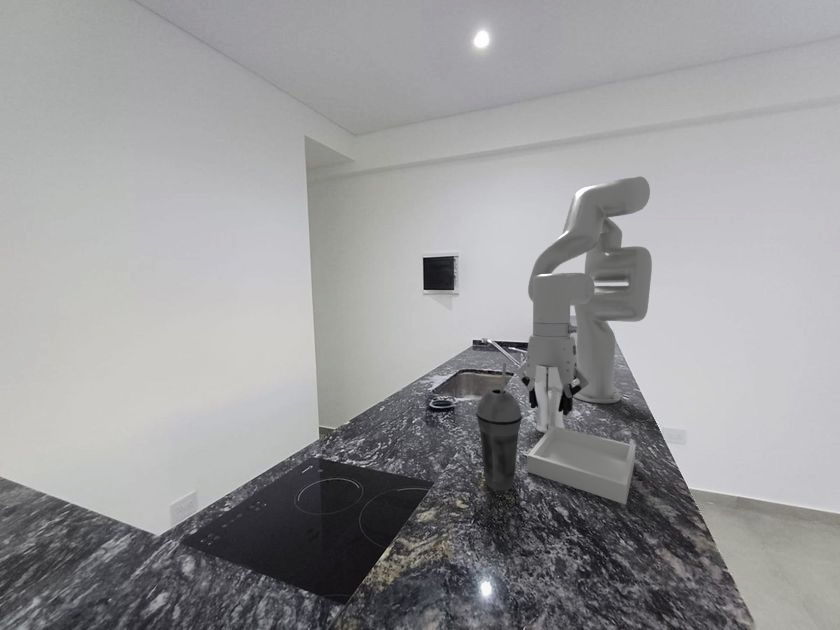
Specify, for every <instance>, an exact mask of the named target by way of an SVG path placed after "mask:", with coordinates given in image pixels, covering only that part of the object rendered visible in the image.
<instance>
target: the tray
mask: <svg viewBox="0 0 840 630" xmlns="http://www.w3.org/2000/svg"><path fill="white" fill-rule="evenodd" d="M526 457H527V458H526V462H527V463H526V464H527V466H526V472H527V473H530V474H534V475H536V476H539V477H541V478H545V479H548V480H551V481H555V482H557V483H560V484H563V485H565V486H566V485H567V486H569V487H572V488H575V489H578V490H581V491H584V492H587V493H589V494H593V495H595V496H599V497H601V498H604V499H607V500H610V501H613V502H617V503H619V504H622V505H627V501H628V498H629V497H628V495H629V494H630V493H629V491H630V488H631V487H630V486H631V482H632V477H633V472H634V467H635V463H636V444H631V443H626V442H623V441H618V440H614V439H610V438H606V437H602V436H597V435H592V434H589V433H585V432H580V431H577V430H572V429H567V428H565V427H564V428H560V427H555V426H551V427H550V429H549V430H548V431H547V432H546V433H545V434H544V435H543V436H542V437H541V438H540V439H539V441H538V442H537V443H536V444H535V446H533V447H532V449H531V450H530V452H529V453H528V454H527V455H526Z"/></svg>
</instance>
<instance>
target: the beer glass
mask: <svg viewBox="0 0 840 630" xmlns="http://www.w3.org/2000/svg"><path fill="white" fill-rule="evenodd" d="M533 383H534V393H535V399H536V404H537V407H536V409H537V413H536V414H537V417H536V422H535V430H537V431H538V432H540V433H542V434H544V435H545V433H546V432H547V431H548V430H549V429H550V427H551V426H555V427H560V428H564V429H565V425H564V419H563V418H564V417H563V416H564V414H563V397H565V392H564V384H561V381H560V377H559V373H558V367H545V366H540V365H536V371H535V376H534V380H533Z"/></svg>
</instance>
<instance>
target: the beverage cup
mask: <svg viewBox="0 0 840 630" xmlns="http://www.w3.org/2000/svg"><path fill="white" fill-rule="evenodd" d="M506 370H507V362H503V363H502V371H501V379H500V380H501V381H500V382H501V384H500V389H499V388H498V389H492V390H489V391H487V392H485V393H484V394H483V395H482V397H481V398H480V400H479V401H478V404H477V410H476V413H475V415H476V418H477V423H478V428H479V434H480V445H481V455H482V466H483V474H484V482H485V484H486V486H487V487H489V488H490V489H492V490H494V491H498V492H499V491H500V492H501V491H502V492H504V491H508V490H510V489H512V487H513V485H514V478H515V474H516V473H515V472H516V463H517V462H516V460H517V451H518V440H519V431H520V427H521V423H522V419H523V415H522V411H521V410H522V409H521V407H520V404H519V401H518V400H517V398H516V397H515V396H514V395H513V394H512V393H510V392H508V391H506V390H505V382H506Z"/></svg>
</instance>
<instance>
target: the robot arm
mask: <svg viewBox="0 0 840 630" xmlns="http://www.w3.org/2000/svg"><path fill="white" fill-rule="evenodd" d="M650 187H651V186H650V184H649V181H648V180H647V179H646V178H645V177H643V176H635V177H628V178H619V179H617V180H610V181H607V182H602V183H598V184H593V185H589V186H586V187H585V186H584V187H583V188H581V189H580V190H578V191H576V193H575V194H574V195H573V197H572V200H571V202H570V206H569V210H568V213H567V217H566V220H565V223H564V225H563V226H564V227H563V229H562V233H561V235H560V236H559V237H558V238H557V239H556V240H554V241H553V242H551V243H550V245H548V246H547V247H546V248H545V249H544V251H542V253H540V254H539V256H538V257H537V259H536V260H535V263H534V265H533V267H532V271H531V274H530V277H529V281H528V288H527V292H528V293H527V294H528V296H529V299H530V301H532V334H530V336H529V339H528V343H527V349H526V351H527V352H526V359H525V363H523V364H522V365H521V366H520V367H518V369H516V370H515V374H516V375H517V377H518V378H519V379H520V380H521V382H522V383H523V385H524V386H525V387H526V389H527V390H528V403H529V404H530V409H536V408H537V404H536V399H535V393H534V383H533V380H534V376H535V371H536V365H540V366H545V367H558V373H559V377H560V381H561V384H564V392H565V397H563V416H566V417H567V416H568V415H569V414H570V412H572V411H573V407H574V406H573V405H574V401H573V400H574V398H575V399H576V400H577V399H578V400H580V401H584V402H587V403H593V404H604V405H605V404H614V403H618V402H620V400H621V395H620V394H619V392H617V391H615V389H614V388H615V364H616V363H615V361H616V359H615V358H616V357H615V355H616V335H615V333H614V331H613V329H612V328H611V327H610V326H609V324H608V323H607V322H625V323H627V322H628V323H633V322H634V323H635V322H636V323H637V322H640V321H642V320H644V319H645V318H646V315H647V313H648V308H649V301H650V299H649V298H650V289H651V280H652V273H653V272H652V269H653V262H652V256H651V252H650V251H649V250H648V249H647V248H646V247H644V246H637V245H635V246H624V247H622V240H623V231H622V230H621V228H620V227H619V226H618V224H616V223H615V221H613V220H612V219H610V218H614V217H619V216H626V215H627V216H628V215H631V214H632V215H633V214H635V213H637V212H639V211H641V210H643V209H645V207H646V206H647V204H648V202H649V200H650V195H651V190H650V189H651V188H650ZM584 254H585V261H584V273H583V272H567V273H566V272H559V273H553V272H554V271H555V270H556V269H557V268H558V267H560V266H561V265H563V264H564V263H566V262H568V261H570V260H572V259H575V258H577V257H579V256H582V255H584ZM596 283H599V284H601V283H603V284H604V283H605V284H607V283H609V284H610V283H611V284H612V283H613V284H614V283H617V284H618V283H627V284H628V285H595V284H596ZM573 306H574V312H575V317H576V318H575V320H576V326H574V325H572V323H571V307H573ZM572 334H577V335H576V342H575V337H574V336H571V335H572ZM575 380H576V381H575ZM574 381H575V382H576V383H575V386H573V382H574Z"/></svg>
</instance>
